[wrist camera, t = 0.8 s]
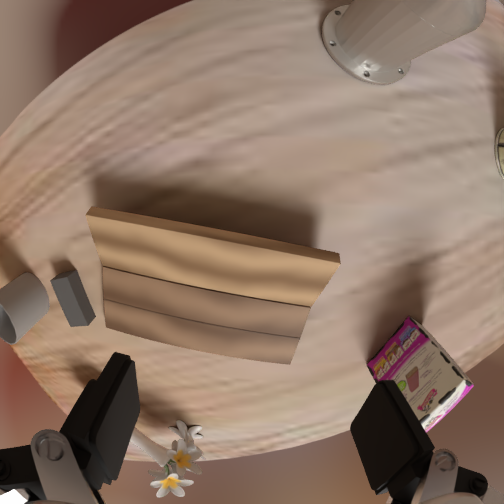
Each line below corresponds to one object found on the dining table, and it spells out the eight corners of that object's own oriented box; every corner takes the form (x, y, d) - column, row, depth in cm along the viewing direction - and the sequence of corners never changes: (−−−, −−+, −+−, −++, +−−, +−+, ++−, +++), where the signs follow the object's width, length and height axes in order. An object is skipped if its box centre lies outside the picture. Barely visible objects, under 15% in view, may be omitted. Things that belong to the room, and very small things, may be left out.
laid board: (107, 262, 34) (102, 267, 32) (308, 302, 36) (310, 308, 34) (109, 322, 37) (105, 327, 35) (288, 358, 39) (290, 364, 37)
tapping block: (60, 272, 35) (50, 280, 32) (77, 269, 34) (67, 277, 31) (79, 317, 37) (70, 326, 34) (96, 315, 37) (88, 325, 34)
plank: (91, 206, 26) (85, 214, 25) (339, 253, 28) (340, 263, 28) (106, 257, 33) (102, 265, 32) (311, 297, 35) (311, 306, 34)
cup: (43, 275, 34) (6, 302, 25) (54, 318, 37) (23, 350, 28) (15, 270, 34) (-20, 293, 25) (25, 310, 37) (-5, 336, 27)
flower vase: (113, 379, 50) (203, 445, 48) (62, 429, 33) (166, 506, 32) (121, 351, 44) (230, 431, 42) (57, 411, 27) (188, 507, 26)
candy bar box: (382, 371, 41) (418, 440, 25) (365, 364, 40) (400, 439, 24) (424, 324, 38) (476, 385, 22) (409, 313, 37) (464, 379, 21)
